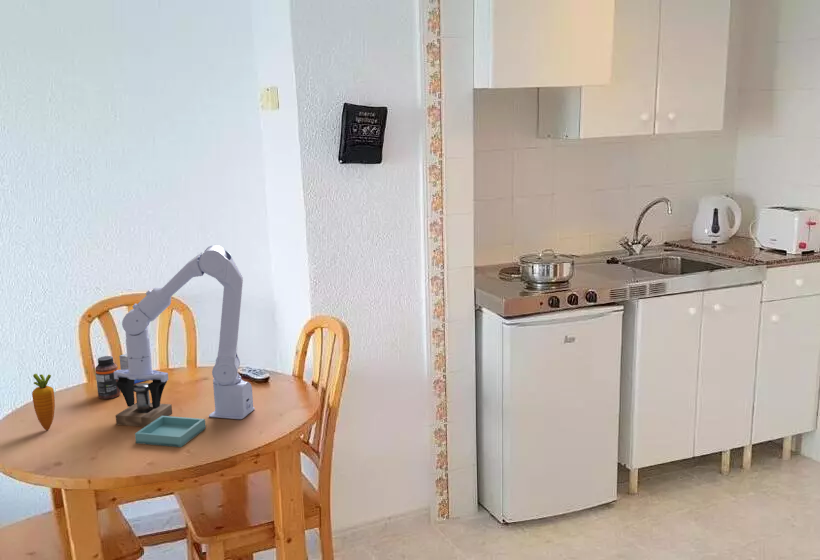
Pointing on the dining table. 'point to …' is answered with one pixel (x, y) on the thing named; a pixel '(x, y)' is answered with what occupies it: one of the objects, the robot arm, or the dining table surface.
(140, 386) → the steel pin
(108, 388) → the supplement bottle
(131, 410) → the brown wooden square frame
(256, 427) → the dining table surface
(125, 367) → the medicine box
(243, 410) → the robot arm
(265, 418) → the dining table surface
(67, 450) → the dining table surface
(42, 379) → the carrot
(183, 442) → the tray
